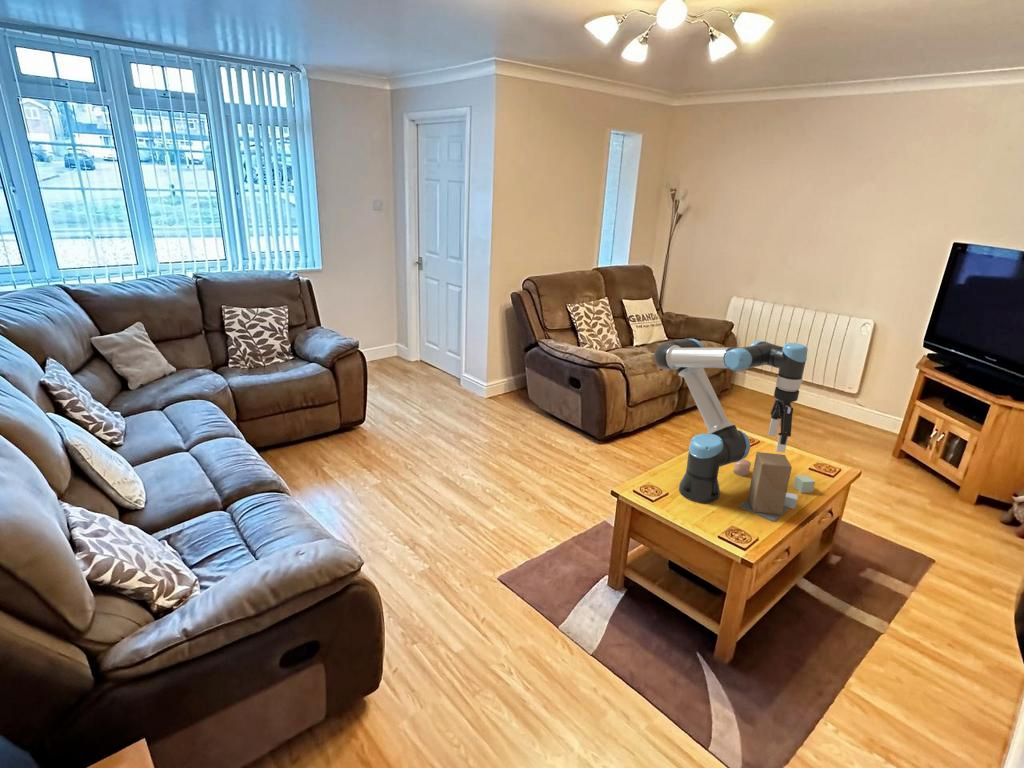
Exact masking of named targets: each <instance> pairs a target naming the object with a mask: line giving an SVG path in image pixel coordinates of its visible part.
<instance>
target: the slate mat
mask: <svg viewBox="0 0 1024 768" xmlns="http://www.w3.org/2000/svg"><path fill="white" fill-rule="evenodd" d="M738 507H739V508H741V509H742V510H745V511H748V512H750V513H752V514H755V515H757V516H759V517H761V518H763V519H766V520H768V521H770V522H773V523H774V522H776V521H777V520H778V519H779V518H781V516H782V515H784V514H785V513H786V512H787V511H789V510H790V508H789V507H786V506H783V510H782V514H781V515H777V514H769V513H761V512H754V511H753V510H752V507H751V504H750V502H749V499H748V498H747V499H746V500H744V501H743V502H742V503H741V504H739V505H738Z"/></svg>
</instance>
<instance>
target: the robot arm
mask: <svg viewBox="0 0 1024 768" xmlns="http://www.w3.org/2000/svg"><path fill="white" fill-rule="evenodd" d="M808 351H809V350H808V347H807V346H806V345H804V344H801V343H796V342H786V343H784V345H783V346H780V345H778V344H774V343H770V342H768V341H762V340H755V341H753V342H752V343H750V345H749V346H741V347H738V346H736V347H705V346H704V344H702V342H700V341H699V340H698V339H695V338H682V339H677V340H672V341H665V342H662V343H661V344H659V345H658V346H657V347H656V348H655V349H654V353H653V361H654V363H655V365H656V366H657V367H659V369H662V370H664V371H670V370H672V371H673V370H676V373H677V375H678V377H682V378H683V379H684V382H685V383H686V385H687V387H688V389H689V393H690V394H691V396H692V399H693V401H694V404H695V405H696V407H697V409H698V411H699V413H700V415H701V418H702V419H703V420H702V421H703V422H704V424H705V427H706V428H707V433H698V434H697V435H694V436H693V437H692V438H691V439H690V443H689V445H688V446H689V447H688V453H687V454H688V455H687V462H686V463H687V464H686V470H685V473H684V475H683V477H682V479H680V483H679V486H678V491H679V493H680V494H681V495H682V497H684V498H686V499H688V500H691V501H692V502H695V503H696V502H697V503H704V504H705V503H707V504H708V503H709V504H711V503H713V502H716V501H718V499H719V498H720V493H721V490H720V484H719V479H718V476H719V471H720V468H721V467H723V466H727V465H730V464H733V463H735V462H738V461H740V460H742V459H744V460H745V458H747V456H748V455H749V453H750V450H751V441H750V438H749V436H748V435H747V434H746V433H745V432H743V431H742V430H739V429H738V427H737V426H736V424H735V423H733V422H730V420H729V419H728V417H727V415H726V413H725V411H724V409H723V407H722V404H721V402H720V400H719V398H718V396H717V393H716V391H715V390H714V388H713V386H712V384H711V381H710V379H709V377H708V375H707V373H706V370H705V369H729V370H731V371H734V372H735V371H744V370H748V369H751V368H757V367H762V366H770V367H772V368H777V369H778V374H777V377H776V378H777V379H776V381H775V382H776V383H775V387H774V393H773V397H774V398H775V400H774V403H773V406H772V408H771V410H770V412H769V413H770V415H771V419H770V423H769V428H768V434H767V435H768V436H771V437H777V435H778V438H777V443H776V448H775V452H777V453H785V452H786V448H787V444H788V438H789V437H791V436H792V423H793V413H794V407H792V405H791V404H792V403H793V402H797V401H798V398H799V394H800V388H801V384H802V383H803V382H804V380H803V375H804V370H805V367H806V362H807V359H808ZM779 425H780V432H779V433H778V431H779Z"/></svg>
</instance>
